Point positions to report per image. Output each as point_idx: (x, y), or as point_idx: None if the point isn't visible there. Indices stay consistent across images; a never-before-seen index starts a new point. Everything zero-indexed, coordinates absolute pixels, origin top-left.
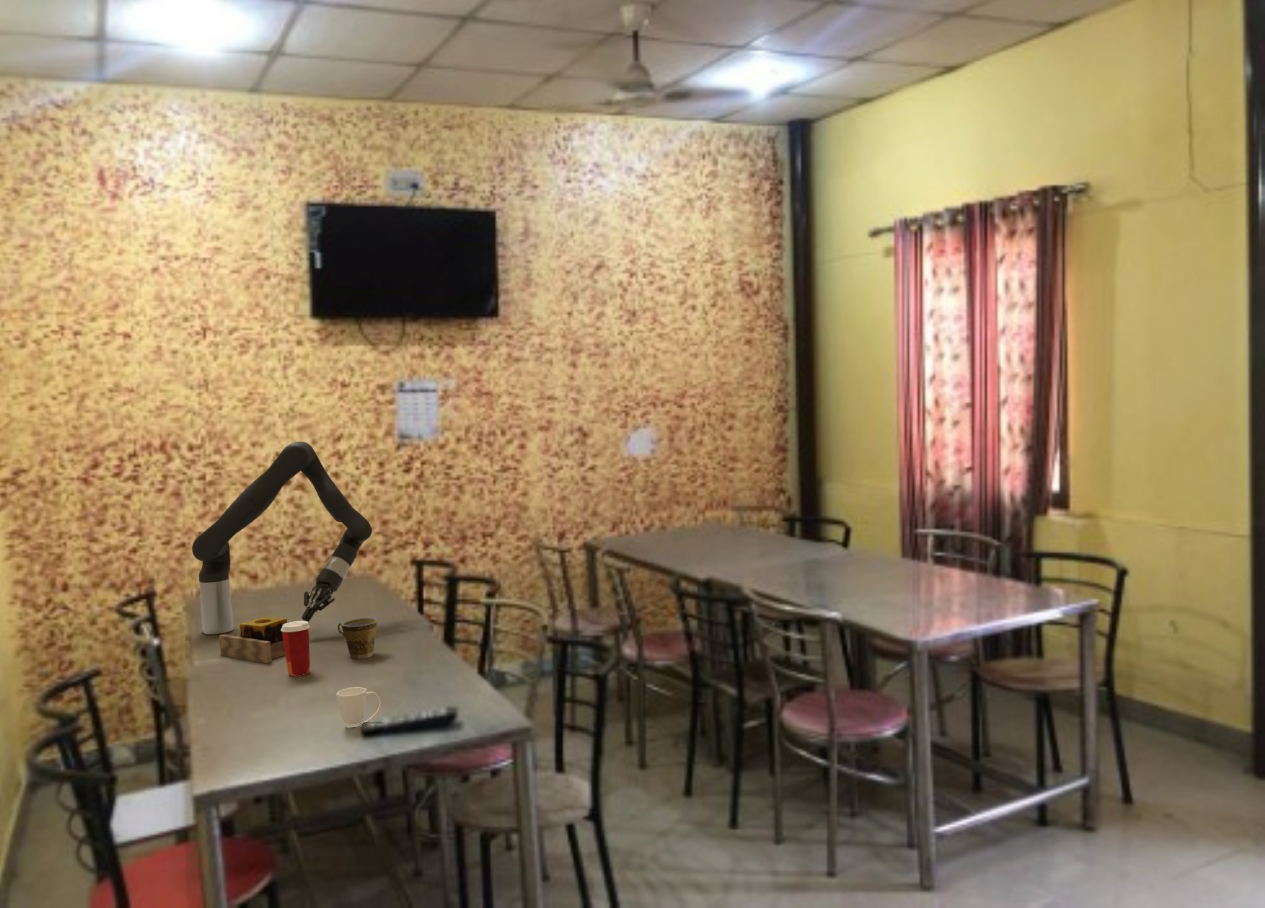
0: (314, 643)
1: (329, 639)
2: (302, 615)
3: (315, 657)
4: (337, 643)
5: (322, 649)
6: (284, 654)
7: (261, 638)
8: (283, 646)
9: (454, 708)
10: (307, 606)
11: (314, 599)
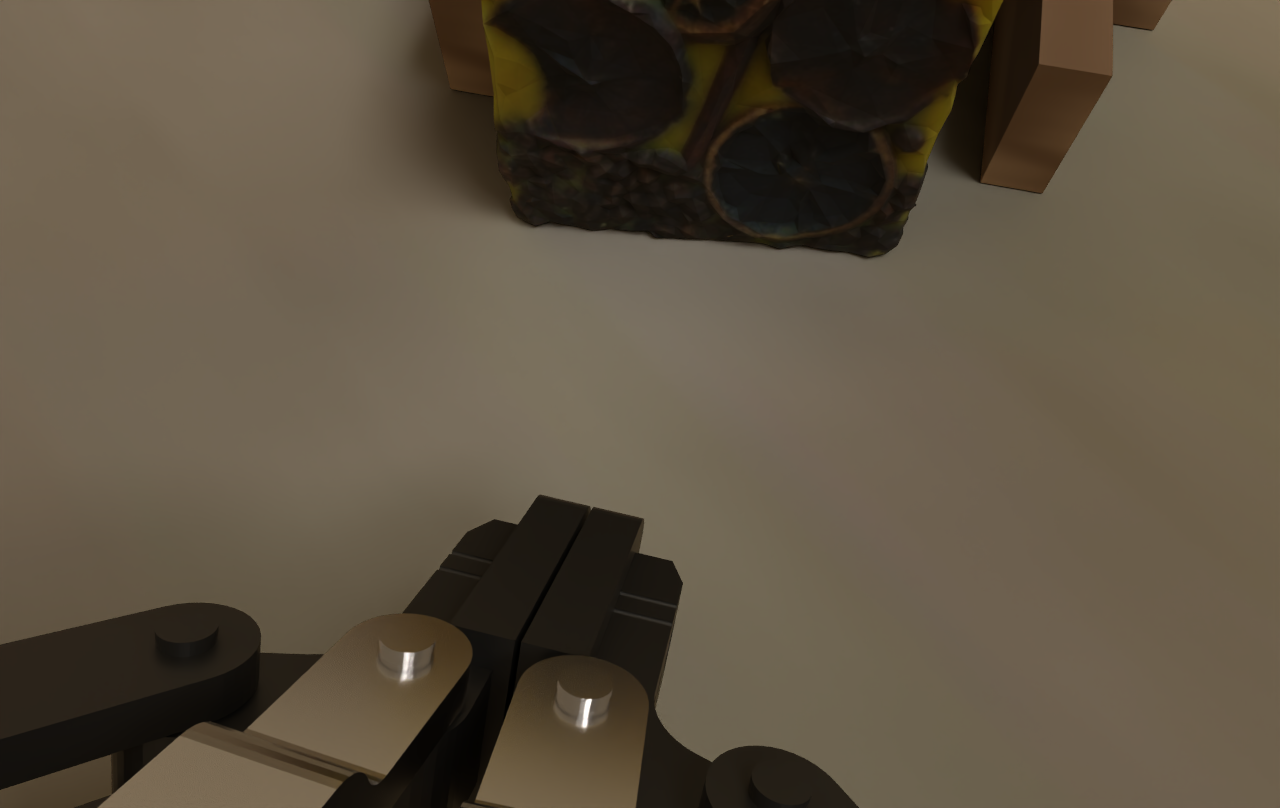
0: (375, 544)
1: None
2: (676, 582)
3: (45, 72)
4: (4, 600)
5: (103, 317)
6: (450, 80)
7: None
8: (434, 3)
9: None
10: (586, 669)
11: (255, 759)
